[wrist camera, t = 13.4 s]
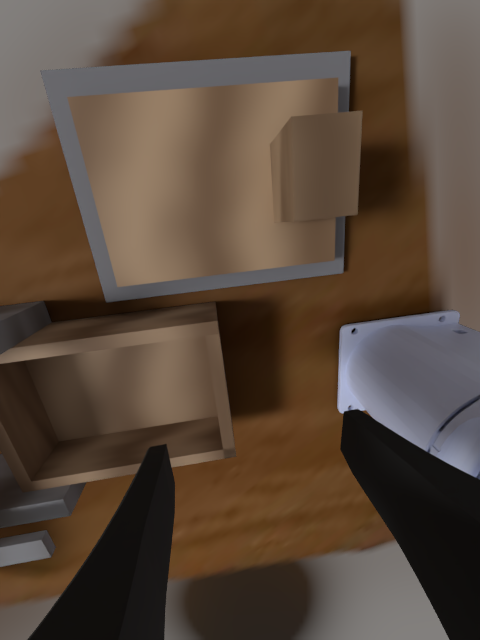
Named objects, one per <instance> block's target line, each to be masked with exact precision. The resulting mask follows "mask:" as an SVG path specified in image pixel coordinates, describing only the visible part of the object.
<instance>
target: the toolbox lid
mask: <svg viewBox="0 0 480 640" xmlns="http://www.w3.org/2000/svg"><path fill="white" fill-rule="evenodd" d="M338 78H339V77H338ZM338 78H324V79H310V80H296V81H283V82H269V83H255V84H241V85H227V86H213V87H199V88H185V89H172V90H158V91H144V92H130V93H116V94H102V95H88V96H75V97H67V99H68V102H69V106H70V110H71V114H72V117H73V121H74V125H75V129H76V133H77V136H78V140H79V144H80V148H81V151H82V155H83V159H84V163H85V166H86V170H87V174H88V178H89V181H90V185H91V189H92V193H93V197H94V200H95V204H96V208H97V212H98V215H99V219H100V223H101V227H102V230H103V234H104V238H105V242H106V246H107V249H108V253H109V257H110V261H111V264H112V268H113V272H114V276H115V279H116V283H117V287H123V286H131V285H139V284H147V283H156V282H164V281H172V280H180V279H188V278H196V277H205V276H213V275H221V274H229V273H237V272H246V271H254V270H262V269H270V268H278V267H287V266H295V265H303V264H311V263H319V262H328V261H335V223H336V217H341V216H350V215H358V195H359V173H360V152H361V131H362V111H352V112H340V113H338Z"/></svg>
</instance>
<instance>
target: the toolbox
mask: <svg viewBox="0 0 480 640" xmlns="http://www.w3.org/2000/svg"><path fill="white" fill-rule="evenodd" d="M163 444H167V448H168V453H169V458H170V463H171V467H177V466H183V465H189V464H195V463H201V462H207V461H213V460H218V459H224V458H230V457H236V451H235V443H234V435H233V427H232V418H231V411H230V404H229V396H228V389H227V382H226V375H225V367H224V360H223V353H222V345H221V338H220V331H219V324H218V316H217V309H216V302H207V303H200V304H192V305H184V306H176V307H168V308H161V309H153V310H145V311H137V312H129V313H121V314H114V315H106V316H98V317H90V318H82V319H75V320H67V321H59V322H51V319H50V316H49V314H48V311H47V308H46V305H45V303H44V301H39V302H31V303H23V304H15V305H6V306H0V451H1V453H2V454H0V528H4V527H10V526H15V525H21V524H26V523H32V522H38V521H43V520H49V519H55V518H60V517H66V516H71V514H72V512H73V509H74V507H75V505H76V503H77V501H78V499H79V497H80V495H81V493H82V490H83V488H84V486H85V484H86V482H89V481H95V480H101V479H107V478H113V477H118V476H124V475H130V474H136V473H137V471H138V469H139V467H140V465H141V463H142V461H143V459H144V456H145V454H146V452H147V450H148V449H149V447H152V446H158V445H163ZM55 548H56V547H55V545H54V543H53V541H52V539H51V537H50V536H49V534H48V532H47V530H44V531H39V532H33V533H28V534H22V535H17V536H11V537H6V538H0V567H2V566H7V565H13V564H18V563H23V562H29V561H34V560H39V559H45V558H50V557H51V556H52V554H53V552H54V550H55Z"/></svg>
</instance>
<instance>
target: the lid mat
mask: <svg viewBox="0 0 480 640" xmlns="http://www.w3.org/2000/svg"><path fill="white" fill-rule="evenodd" d="M350 57H351V51H340V52H324V53H308V54H292V55H277V56H261V57H245V58H229V59H214V60H198V61H182V62H166V63H151V64H135V65H119V66H104V67H88V68H72V69H56V70H43V71H42V70H41V71H40V72H41V75H42V79H43V82H44V86H45V89H46V93H47V96H48V100H49V103H50V107H51V110H52V114H53V117H54V121H55V124H56V128H57V131H58V135H59V138H60V142H61V145H62V149H63V152H64V156H65V159H66V163H67V166H68V170H69V173H70V177H71V180H72V184H73V187H74V191H75V195H76V198H77V202H78V205H79V209H80V212H81V216H82V219H83V223H84V226H85V230H86V233H87V237H88V240H89V244H90V247H91V251H92V254H93V258H94V261H95V265H96V268H97V272H98V275H99V279H100V282H101V286H102V289H103V293H104V296H105V300H106V303H107V302H115V301H123V300H131V299H139V298H147V297H155V296H163V295H171V294H179V293H187V292H195V291H203V290H211V289H219V288H227V287H235V286H243V285H251V284H259V283H267V282H275V281H283V280H291V279H299V278H307V277H315V276H323V275H331V274H339V273H343V267H344V237H345V216H341V217H336V223H335V261H328V262H319V263H311V264H303V265H295V266H287V267H278V268H270V269H262V270H254V271H246V272H237V273H229V274H221V275H213V276H205V277H196V278H188V279H180V280H172V281H164V282H156V283H147V284H139V285H131V286H123V287H117V283H116V279H115V276H114V272H113V268H112V264H111V261H110V257H109V253H108V249H107V246H106V242H105V238H104V234H103V230H102V227H101V223H100V219H99V215H98V212H97V208H96V204H95V200H94V197H93V193H92V189H91V185H90V181H89V178H88V174H87V170H86V166H85V163H84V159H83V155H82V151H81V148H80V144H79V140H78V136H77V133H76V129H75V125H74V121H73V117H72V114H71V110H70V106H69V102H68V99H67V97H75V96H88V95H102V94H116V93H130V92H144V91H158V90H172V89H185V88H199V87H213V86H227V85H241V84H255V83H269V82H283V81H296V80H310V79H324V78H338V77H339V78H338V113H340V112H349V87H350Z"/></svg>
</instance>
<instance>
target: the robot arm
mask: <svg viewBox="0 0 480 640" xmlns="http://www.w3.org/2000/svg"><path fill="white" fill-rule="evenodd" d="M440 317H441V319H440V320H439V318H440ZM459 318H460V313H459V312H458V311H455V310H447V311H440V312H432V313H425V314H418V315H411V316H404V317H396V318H389V319H382V320H375V321H368V322H360V323H353V324H346V325H344V326H342V327H341V329H340V341H339V373H338V405H337V408H338V410H339V411H340V413H344V416H343V427H342V437H341V448H340V449H341V451H342V453H343V455H344V457H345V459H346V461H347V463H348V465H349V467H350V469H351V471H352V473H353V475H354V476H355V478H356V479H357V481H358V483H359V484H360V486H361V487H362V489H363V490H364V492H365V493H366V495H367V496H368V498H369V499H370V501H371V502H372V504H373V505H374V507H375V508H376V510H377V511H378V513H379V514H380V516H381V517H382V519H383V520H384V522H385V524H386V525H387V527H388V528H389V530H390V531H391V533H392V534H393V536H394V537H395V539H396V541H397V542H398V544H399V546H400V547H401V549H402V551H403V553H404V554H405V556H406V558H407V560H408V562H409V563H410V565H411V567H412V569H413V571H414V572H415V574H416V576H417V578H418V579H419V582H420V583H421V585H422V587H423V589H424V591H425V593H426V595H427V597H428V598H429V600H430V602H431V604H432V606H433V608H434V610H435V612H436V614H437V616H438V618H439V619H440V621H441V624H442V626H443V628H444V629H445V631H446V633H447V635H448V637H449V639H450V640H480V332H478V331H476V330H473V329H471V328H468V327H466V326H463V325H461V324H459ZM354 328H355V331H354V332H352V333H351V331H352V329H354ZM349 406H350V407H349ZM348 407H349V408H348ZM363 410H367V412H368V413H369V414H370V415H371V416H372V417H373V418H372V417H370V416H368V415H367V414H365V413H364V412H362V411H363ZM174 513H175V482H174V477H173V472H172V467H171V463H170V458H169V453H168V448H167V444H163V445H158V446H152V447H149V449H148V450H147V452H146V454H145V456H144V459H143V461H142V463H141V465H140V467H139V469H138V471H137V473H136V475H135V477H134V479H133V481H132V483H131V485H130V487H129V489H128V491H127V492H126V494H125V496H124V498H123V500H122V502H121V504H120V505H119V507H118V509H117V511H116V512H115V514H114V516H113V517H112V519H111V521H110V522H109V524H108V526H107V527H106V529H105V531H104V532H103V534H102V536H101V537H100V539H99V540H98V542H97V544H96V545H95V547H94V548H93V550H92V551H91V553H90V554H89V556H88V557H87V559H86V560H85V562H84V563H83V565H82V566H81V568H80V569H79V571H78V572H77V574H76V575H75V577H74V578H73V579H72V581H71V582H70V584H69V585H68V586H67V588H66V589H65V591H64V592H63V593H62V595H61V596H60V597H59V599H58V600H57V602H56V603H55V604H54V606H53V607H52V608H51V610H50V611H49V613H48V614H47V615H46V616H45V618H44V619H43V621H42V622H41V623H40V624H39V626H38V627H37V628H36V630H35V631H34V632H33V633H32V635H31V636H30V637H29V638H28V640H164V628H165V627H164V626H165V605H166V591H167V582H168V572H169V562H170V553H171V543H172V534H173V524H174Z"/></svg>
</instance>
